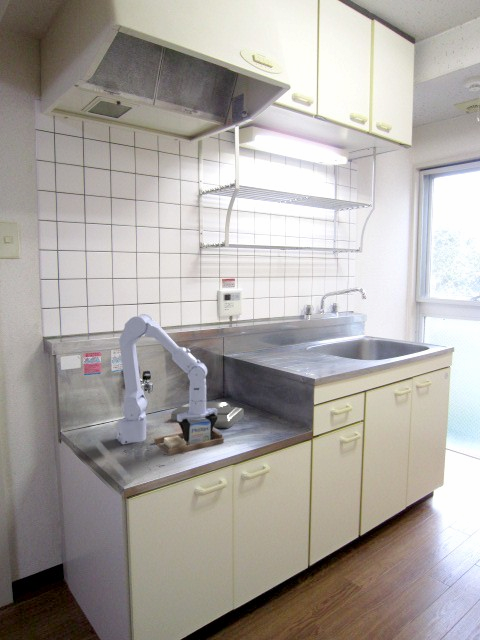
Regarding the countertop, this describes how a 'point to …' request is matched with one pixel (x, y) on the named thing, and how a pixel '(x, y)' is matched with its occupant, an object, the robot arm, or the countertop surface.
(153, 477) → the countertop surface
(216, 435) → the rack
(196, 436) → the medicine box
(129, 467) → the countertop surface
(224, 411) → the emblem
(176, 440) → the offcut top
